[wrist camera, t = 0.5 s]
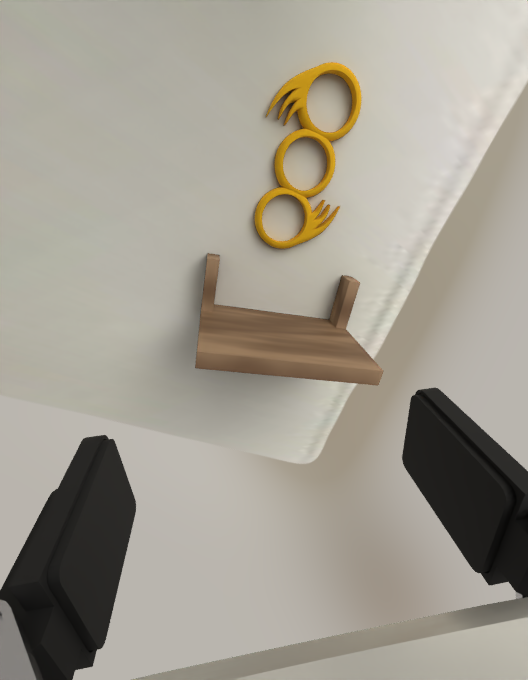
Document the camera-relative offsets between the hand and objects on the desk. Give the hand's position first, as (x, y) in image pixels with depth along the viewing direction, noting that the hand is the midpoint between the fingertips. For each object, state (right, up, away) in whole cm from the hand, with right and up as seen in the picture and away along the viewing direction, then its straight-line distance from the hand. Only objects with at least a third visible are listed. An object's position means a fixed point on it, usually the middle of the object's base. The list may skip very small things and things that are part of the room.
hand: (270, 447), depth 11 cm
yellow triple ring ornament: (+4, +21, +23) cm, 31 cm away
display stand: (+1, +8, +27) cm, 29 cm away
